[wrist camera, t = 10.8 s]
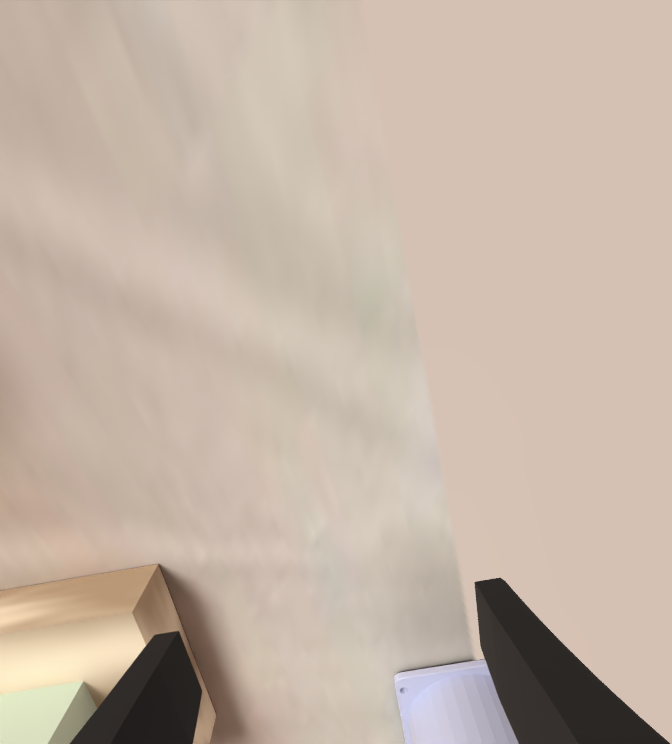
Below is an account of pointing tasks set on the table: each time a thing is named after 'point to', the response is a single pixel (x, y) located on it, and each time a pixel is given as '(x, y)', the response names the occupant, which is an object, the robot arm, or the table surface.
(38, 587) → the birch plinth
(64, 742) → the sage block
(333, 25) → the table surface
